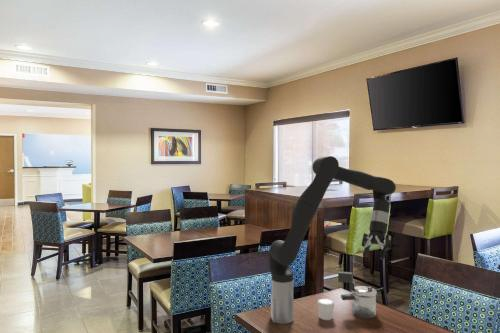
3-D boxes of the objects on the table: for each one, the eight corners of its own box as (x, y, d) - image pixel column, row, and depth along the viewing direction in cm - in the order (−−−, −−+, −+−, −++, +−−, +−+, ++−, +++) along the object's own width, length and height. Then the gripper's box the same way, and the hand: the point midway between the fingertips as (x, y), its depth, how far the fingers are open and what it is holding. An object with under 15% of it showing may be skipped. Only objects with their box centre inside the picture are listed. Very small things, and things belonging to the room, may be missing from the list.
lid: (337, 293, 159) (337, 275, 159) (339, 285, 169) (339, 268, 169) (376, 298, 154) (376, 279, 154) (376, 289, 164) (376, 272, 164)
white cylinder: (334, 321, 153) (334, 304, 153) (317, 320, 154) (317, 303, 154) (333, 314, 160) (333, 298, 159) (317, 313, 161) (317, 297, 161)
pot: (346, 319, 155) (346, 298, 155) (338, 309, 165) (338, 289, 165) (380, 317, 156) (380, 296, 156) (369, 308, 166) (369, 288, 166)
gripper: (361, 219, 170) (355, 254, 166) (386, 220, 158) (381, 257, 154) (372, 223, 173) (367, 258, 169) (397, 224, 161) (393, 261, 157)
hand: (373, 257), depth 161 cm, fingers open, 8 cm apart
